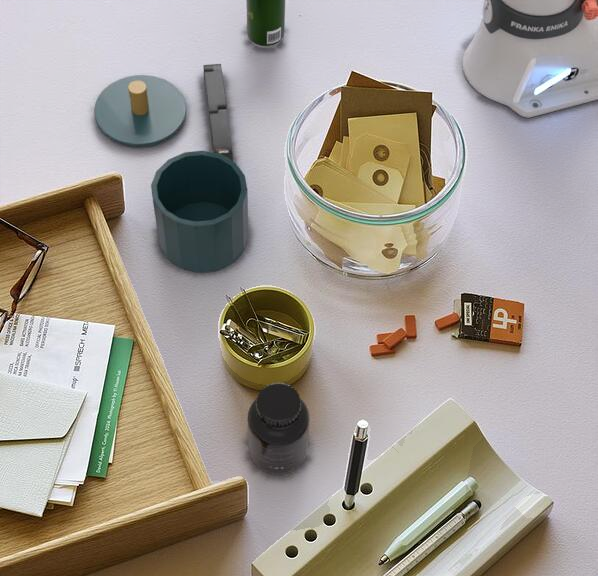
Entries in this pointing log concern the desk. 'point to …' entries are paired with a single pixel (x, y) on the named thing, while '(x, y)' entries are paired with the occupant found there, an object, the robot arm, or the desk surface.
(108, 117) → the lid
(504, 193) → the desk surface
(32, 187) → the desk surface
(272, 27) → the beer can
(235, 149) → the desk surface
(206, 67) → the grey notched bar
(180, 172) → the tin
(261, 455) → the supplement bottle
